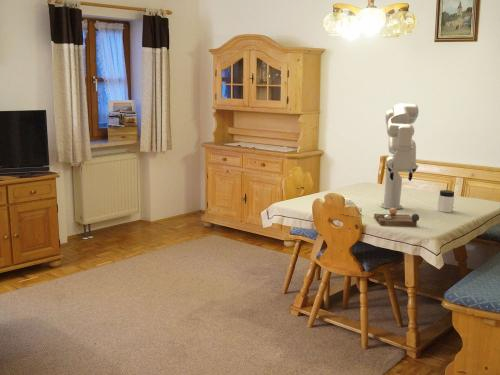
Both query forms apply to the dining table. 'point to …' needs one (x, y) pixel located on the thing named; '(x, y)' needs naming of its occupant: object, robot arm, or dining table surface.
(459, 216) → the dining table surface
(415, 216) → the black ball
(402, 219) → the board
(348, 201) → the penguin figurine
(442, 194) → the jar
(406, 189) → the dining table surface
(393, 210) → the terracotta ball
